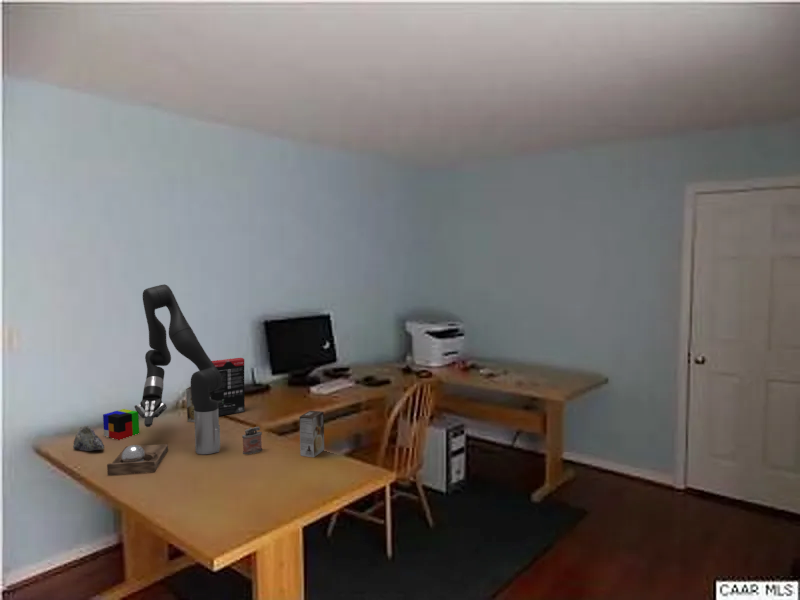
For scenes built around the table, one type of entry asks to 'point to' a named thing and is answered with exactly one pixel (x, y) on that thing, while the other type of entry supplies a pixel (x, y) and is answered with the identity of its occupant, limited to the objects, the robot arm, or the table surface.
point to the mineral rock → (87, 440)
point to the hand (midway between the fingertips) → (148, 426)
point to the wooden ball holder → (152, 458)
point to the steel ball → (133, 454)
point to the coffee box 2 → (311, 433)
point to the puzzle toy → (121, 424)
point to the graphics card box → (230, 386)
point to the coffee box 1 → (190, 405)
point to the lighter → (252, 441)
